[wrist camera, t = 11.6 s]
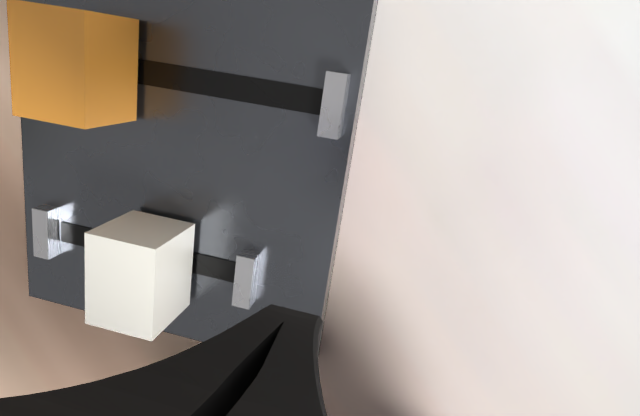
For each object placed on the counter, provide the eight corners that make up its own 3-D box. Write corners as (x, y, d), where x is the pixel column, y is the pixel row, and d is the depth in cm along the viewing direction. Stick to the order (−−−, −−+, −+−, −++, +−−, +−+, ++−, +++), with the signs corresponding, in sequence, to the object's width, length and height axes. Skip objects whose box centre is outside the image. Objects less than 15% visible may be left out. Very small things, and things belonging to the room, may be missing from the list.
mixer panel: (318, 356, 23) (308, 381, 21) (46, 285, 25) (16, 302, 24) (378, -1, 18) (372, -9, 16) (35, -45, 21) (-4, -57, 19)
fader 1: (136, 120, 20) (84, 129, 17) (73, 108, 21) (12, 115, 18) (138, 19, 19) (83, 9, 16) (72, 9, 19) (6, -2, 16)
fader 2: (189, 304, 22) (151, 341, 19) (130, 289, 22) (85, 323, 20) (195, 223, 21) (155, 249, 18) (132, 210, 21) (84, 232, 18)
